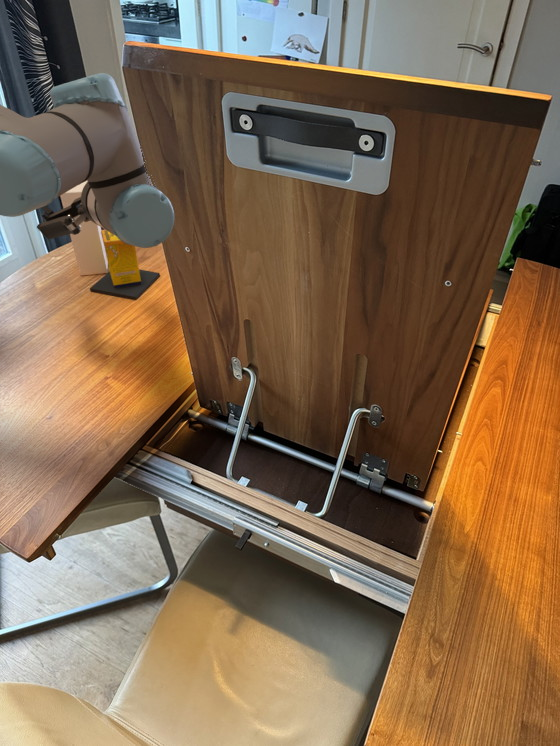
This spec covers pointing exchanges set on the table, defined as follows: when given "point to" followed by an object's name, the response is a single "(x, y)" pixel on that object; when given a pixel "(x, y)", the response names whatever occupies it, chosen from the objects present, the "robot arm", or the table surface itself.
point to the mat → (128, 292)
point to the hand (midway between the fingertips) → (79, 189)
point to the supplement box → (121, 261)
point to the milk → (87, 240)
